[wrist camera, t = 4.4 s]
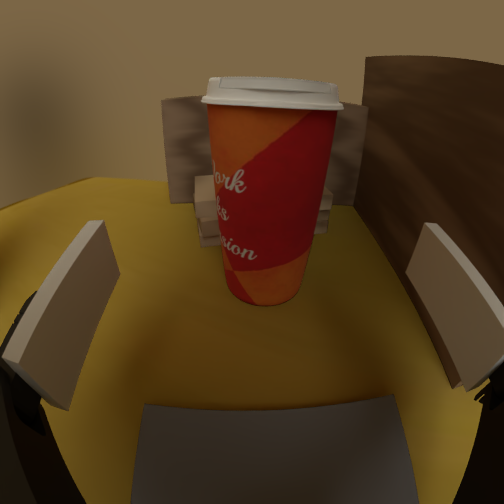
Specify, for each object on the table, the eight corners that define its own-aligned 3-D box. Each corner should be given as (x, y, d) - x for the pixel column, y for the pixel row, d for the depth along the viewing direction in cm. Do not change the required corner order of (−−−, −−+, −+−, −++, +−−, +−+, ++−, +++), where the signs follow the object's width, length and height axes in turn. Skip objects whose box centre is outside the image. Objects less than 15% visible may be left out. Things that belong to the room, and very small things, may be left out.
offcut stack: (303, 205, 32) (307, 169, 29) (329, 237, 26) (337, 194, 24) (194, 215, 29) (191, 176, 27) (199, 252, 24) (194, 206, 21)
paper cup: (218, 248, 24) (212, 77, 16) (307, 250, 24) (326, 82, 16) (205, 318, 18) (183, 78, 9) (322, 320, 18) (369, 89, 9)
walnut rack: (361, 199, 33) (381, 60, 23) (471, 381, 12) (601, 113, 2) (174, 196, 33) (165, 48, 22) (91, 406, 12) (-57, 35, 1)
